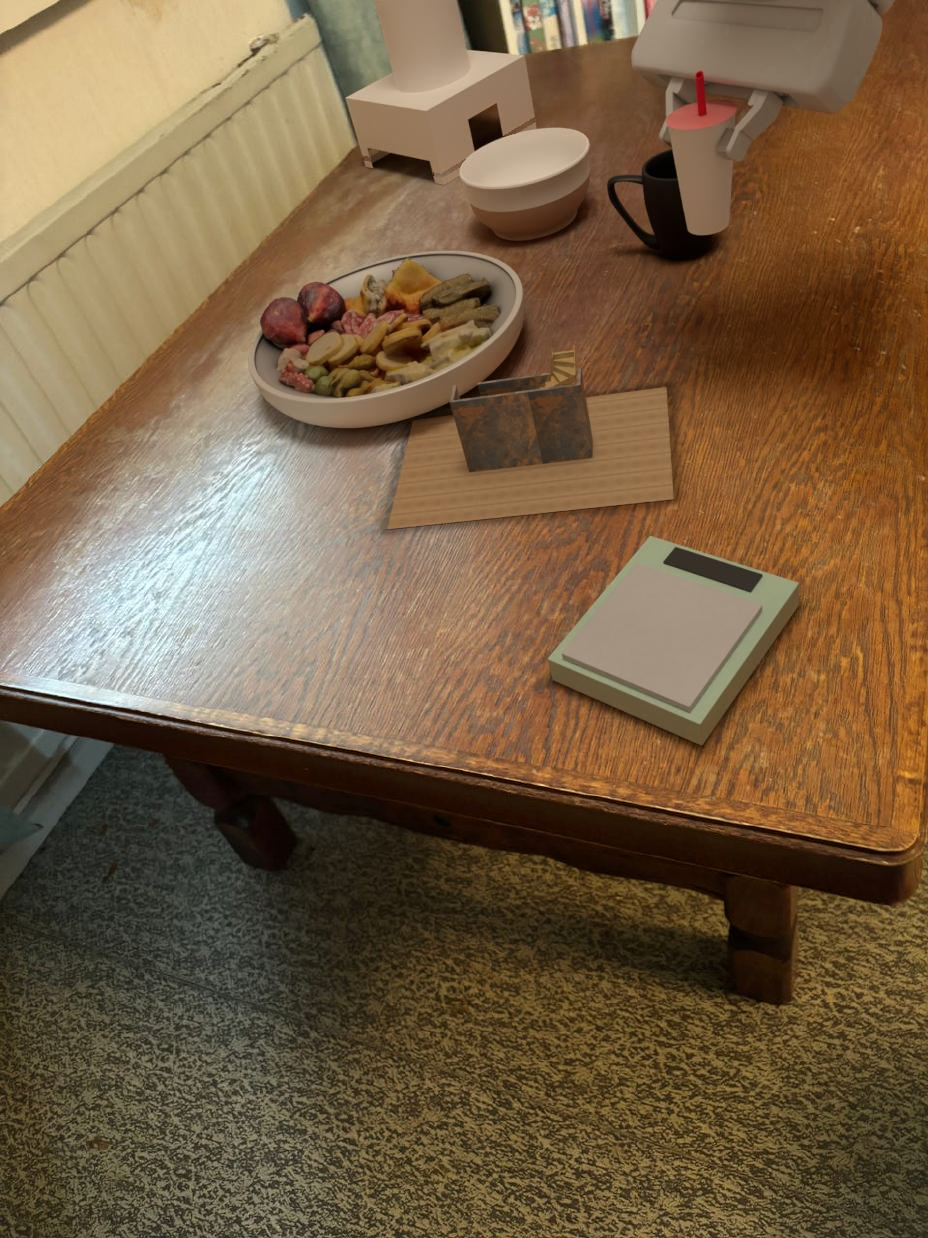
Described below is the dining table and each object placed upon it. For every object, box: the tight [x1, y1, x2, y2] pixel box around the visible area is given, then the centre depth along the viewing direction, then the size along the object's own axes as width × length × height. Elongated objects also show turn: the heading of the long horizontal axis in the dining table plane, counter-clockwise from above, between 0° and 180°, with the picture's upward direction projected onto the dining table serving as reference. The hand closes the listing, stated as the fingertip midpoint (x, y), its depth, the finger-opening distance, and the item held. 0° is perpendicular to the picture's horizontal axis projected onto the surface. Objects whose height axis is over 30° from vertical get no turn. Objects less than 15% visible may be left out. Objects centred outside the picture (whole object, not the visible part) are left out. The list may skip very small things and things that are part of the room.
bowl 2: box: [458, 127, 591, 242], centre depth 119 cm, size 16×16×8 cm
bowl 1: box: [247, 250, 526, 429], centre depth 102 cm, size 30×30×8 cm
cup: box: [665, 71, 738, 235], centre depth 76 cm, size 5×5×12 cm
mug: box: [606, 148, 715, 261], centre depth 105 cm, size 8×12×10 cm
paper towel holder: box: [345, 0, 538, 186], centre depth 135 cm, size 19×19×30 cm
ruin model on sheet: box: [386, 344, 675, 530], centre depth 85 cm, size 25×16×10 cm, turn 84°
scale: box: [547, 535, 800, 746], centre depth 68 cm, size 12×14×3 cm
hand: (698, 151), depth 76 cm, fingers closed on cup, 5 cm apart
